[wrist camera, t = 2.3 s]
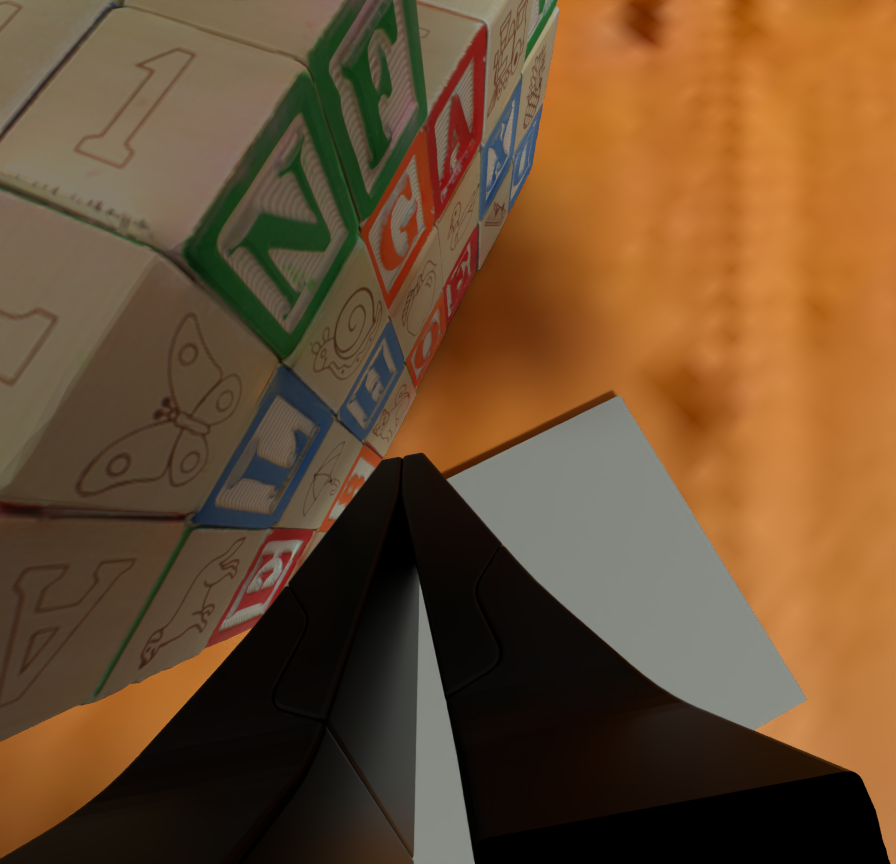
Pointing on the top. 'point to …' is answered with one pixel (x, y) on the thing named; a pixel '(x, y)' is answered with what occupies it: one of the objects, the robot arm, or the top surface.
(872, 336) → the top surface
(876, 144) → the top surface
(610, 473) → the grey rubber mat
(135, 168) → the stack of blocks
